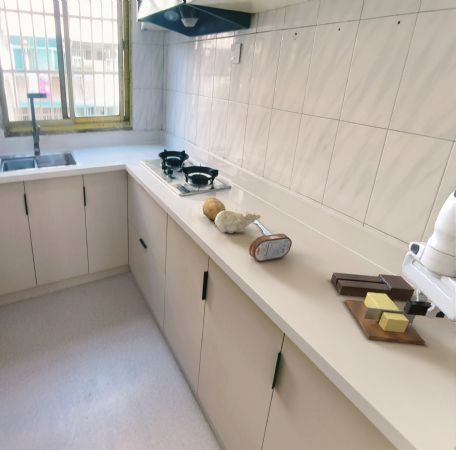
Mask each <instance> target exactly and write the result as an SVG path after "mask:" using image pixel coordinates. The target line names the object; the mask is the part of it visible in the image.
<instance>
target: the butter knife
mask: <svg viewBox="0 0 456 450" xmlns="http://www.w3.org/2000/svg"><path fill="white" fill-rule="evenodd" d="M247 212H248V213H250V214H252V212H249V211H247ZM253 223H254V224H257V226H258V227H259V228H260V229H261V230H262V232H263V234H264V236H265V235H273V233H271V232H270V231H269V230H268V229H266V228H265V227H264V226H263V224H262V223H260V221H258V219H257V220H255V221H254V222H253Z"/></svg>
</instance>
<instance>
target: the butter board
mask: <svg viewBox="0 0 456 450" xmlns="http://www.w3.org/2000/svg"><path fill="white" fill-rule="evenodd" d="M364 302H365V300H355V299H354V300H353V299H345V300H344V304H345V305H346V307H347V309H348V310H349V312H350V313H351V315H352V317H353V318H354V319H355V321H356V323H357V325H358V326H359V328H360V329H361V330H362V332H363V333H364V335H365V337H366V338H367V340H373V341H383V342H392V343H401V344H410V345H420V346H424V345H425V342H426V341H425V340H424V338H422V336H421V335H420V334H419V333H418V332H417V331H416V329H415V328H414V327H413V326H412V324H411V323H408V324H407V327H406V329H405V331H404V333H403V332H393V331H384V330H383V329H382V327H381V326H380V325H379V322H380V321H377V320H373V319H364V315H365V312H366V310H367V307H366V305H365V304H364Z"/></svg>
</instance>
